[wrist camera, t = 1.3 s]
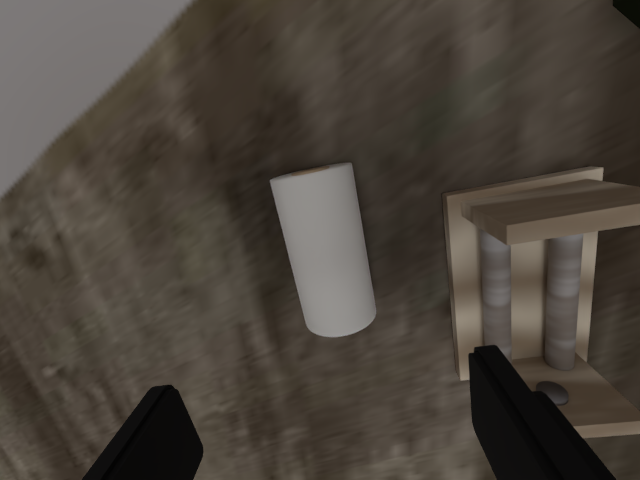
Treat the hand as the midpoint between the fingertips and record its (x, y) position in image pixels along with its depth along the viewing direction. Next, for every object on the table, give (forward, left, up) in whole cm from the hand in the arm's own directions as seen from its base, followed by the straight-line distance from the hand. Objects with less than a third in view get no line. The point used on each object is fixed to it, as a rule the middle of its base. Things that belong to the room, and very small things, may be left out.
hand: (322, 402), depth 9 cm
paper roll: (0, 0, -18) cm, 18 cm away
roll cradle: (-7, -15, -17) cm, 24 cm away
